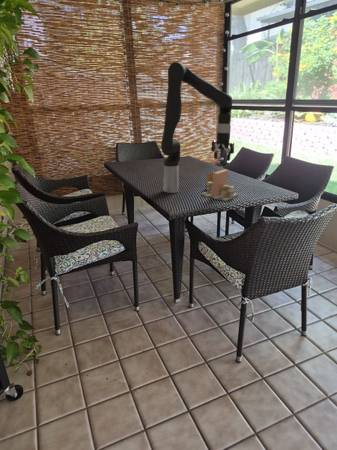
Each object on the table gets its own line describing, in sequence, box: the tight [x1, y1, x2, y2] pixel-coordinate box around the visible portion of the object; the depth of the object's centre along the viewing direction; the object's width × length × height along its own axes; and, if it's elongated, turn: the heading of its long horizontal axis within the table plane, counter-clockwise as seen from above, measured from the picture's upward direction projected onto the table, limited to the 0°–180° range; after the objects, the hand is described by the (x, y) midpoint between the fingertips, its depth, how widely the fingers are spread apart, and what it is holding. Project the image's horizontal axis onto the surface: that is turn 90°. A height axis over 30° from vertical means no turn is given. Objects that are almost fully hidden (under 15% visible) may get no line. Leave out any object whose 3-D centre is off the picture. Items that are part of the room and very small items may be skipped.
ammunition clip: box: [205, 170, 218, 190], centre depth 207 cm, size 11×2×12 cm, turn 120°
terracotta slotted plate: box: [212, 169, 229, 196], centre depth 191 cm, size 3×12×14 cm, turn 137°
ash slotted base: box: [201, 181, 239, 202], centre depth 192 cm, size 18×14×7 cm
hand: (221, 159), depth 185 cm, fingers open, 8 cm apart
